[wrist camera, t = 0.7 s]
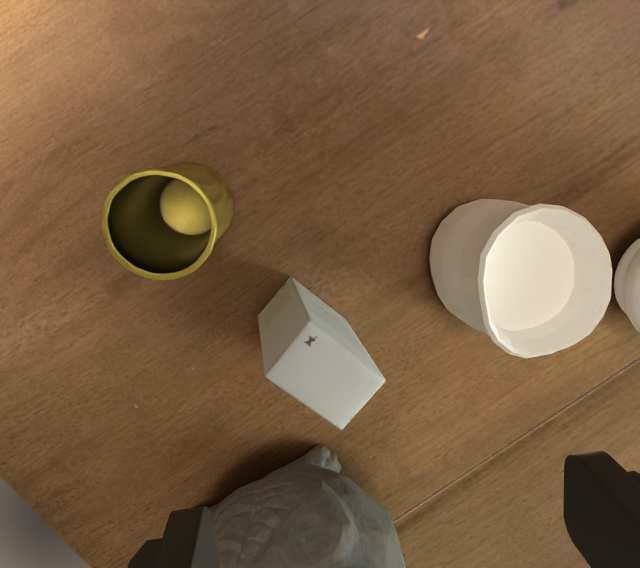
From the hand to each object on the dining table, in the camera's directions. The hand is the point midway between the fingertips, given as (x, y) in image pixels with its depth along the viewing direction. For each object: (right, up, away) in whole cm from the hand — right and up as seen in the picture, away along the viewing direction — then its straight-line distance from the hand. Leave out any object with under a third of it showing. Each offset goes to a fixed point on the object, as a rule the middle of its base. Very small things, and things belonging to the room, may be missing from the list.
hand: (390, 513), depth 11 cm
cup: (+11, +7, +30) cm, 33 cm away
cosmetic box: (-3, +2, +29) cm, 29 cm away
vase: (-11, +11, +26) cm, 30 cm away
